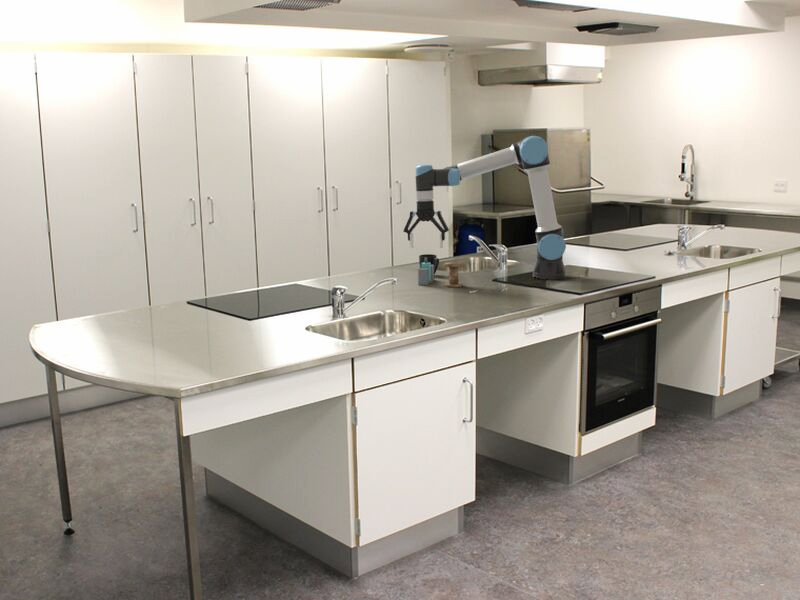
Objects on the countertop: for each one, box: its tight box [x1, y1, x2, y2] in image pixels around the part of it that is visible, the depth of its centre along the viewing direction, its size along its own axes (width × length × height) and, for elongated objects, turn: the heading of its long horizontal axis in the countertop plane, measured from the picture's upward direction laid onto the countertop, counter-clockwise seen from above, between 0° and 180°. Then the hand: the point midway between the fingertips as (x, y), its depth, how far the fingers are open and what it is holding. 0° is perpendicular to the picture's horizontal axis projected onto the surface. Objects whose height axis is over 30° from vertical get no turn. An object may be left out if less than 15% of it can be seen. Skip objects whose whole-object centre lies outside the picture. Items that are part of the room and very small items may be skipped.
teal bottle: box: [421, 258, 431, 281], centre depth 394 cm, size 4×4×10 cm
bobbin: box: [444, 261, 464, 288], centre depth 384 cm, size 8×8×10 cm
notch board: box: [417, 265, 435, 286], centre depth 394 cm, size 4×14×7 cm, turn 165°
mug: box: [418, 253, 440, 275], centre depth 411 cm, size 8×12×10 cm
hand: (426, 247), depth 392 cm, fingers open, 13 cm apart
